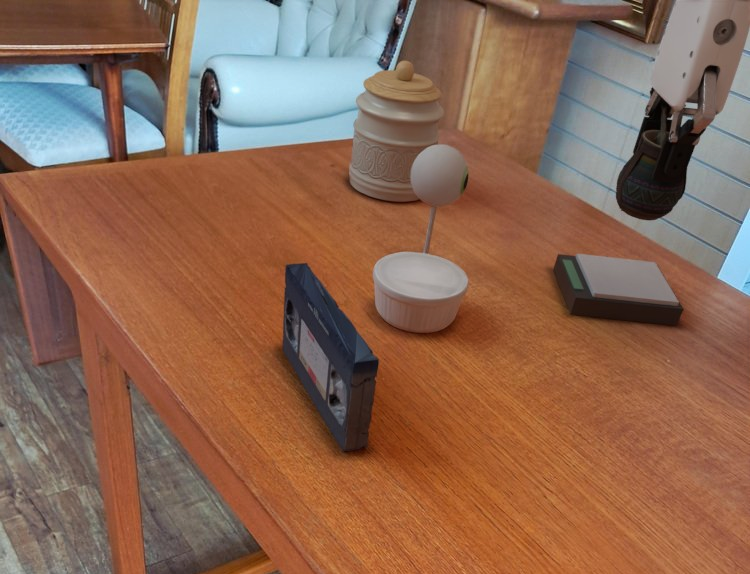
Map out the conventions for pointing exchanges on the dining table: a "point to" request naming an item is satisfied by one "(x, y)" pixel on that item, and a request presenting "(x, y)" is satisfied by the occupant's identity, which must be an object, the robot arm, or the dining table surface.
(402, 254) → the ramekin
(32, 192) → the dining table surface
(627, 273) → the scale
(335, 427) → the vhs cassette tape
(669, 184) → the mate gourd
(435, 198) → the lollipop
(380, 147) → the jar
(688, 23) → the robot arm
